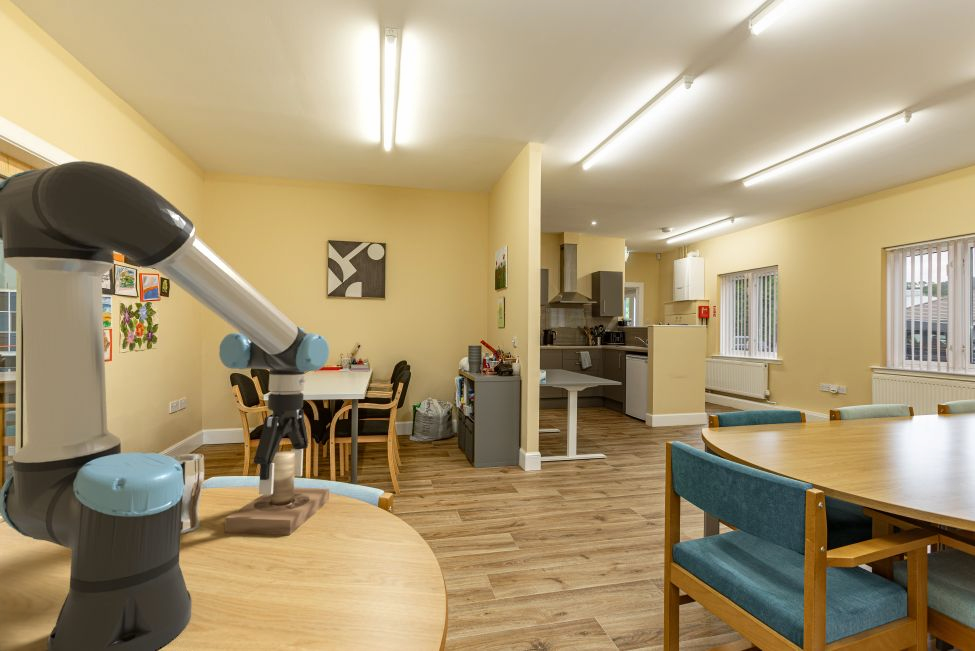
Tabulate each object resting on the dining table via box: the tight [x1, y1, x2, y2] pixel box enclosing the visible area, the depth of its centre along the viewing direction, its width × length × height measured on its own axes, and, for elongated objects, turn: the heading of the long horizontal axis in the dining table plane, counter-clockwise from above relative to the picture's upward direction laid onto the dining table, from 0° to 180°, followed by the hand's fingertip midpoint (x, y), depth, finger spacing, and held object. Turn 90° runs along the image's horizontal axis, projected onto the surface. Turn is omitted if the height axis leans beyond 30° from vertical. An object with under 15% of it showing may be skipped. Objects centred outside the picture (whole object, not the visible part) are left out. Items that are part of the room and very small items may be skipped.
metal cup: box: [171, 453, 205, 535], centre depth 94 cm, size 7×7×15 cm
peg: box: [271, 450, 295, 506], centre depth 102 cm, size 5×5×14 cm
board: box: [224, 487, 330, 536], centre depth 102 cm, size 20×14×3 cm
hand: (281, 484), depth 102 cm, fingers open, 13 cm apart
